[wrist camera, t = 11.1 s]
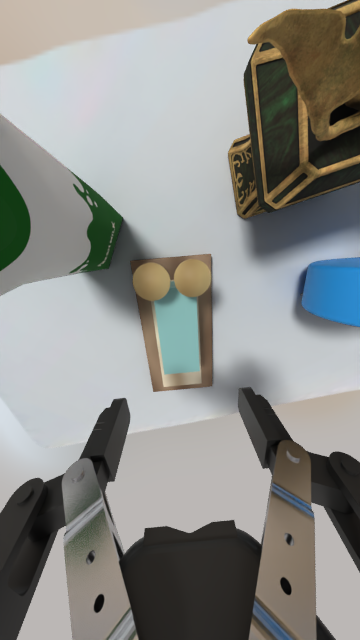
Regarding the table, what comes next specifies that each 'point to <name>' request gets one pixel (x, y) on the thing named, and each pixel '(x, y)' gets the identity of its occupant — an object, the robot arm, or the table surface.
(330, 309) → the alarm clock
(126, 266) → the table surface
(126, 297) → the table surface
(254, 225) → the table surface
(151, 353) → the board
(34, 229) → the milk carton
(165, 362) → the teal rectangular prism
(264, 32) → the decorative box
